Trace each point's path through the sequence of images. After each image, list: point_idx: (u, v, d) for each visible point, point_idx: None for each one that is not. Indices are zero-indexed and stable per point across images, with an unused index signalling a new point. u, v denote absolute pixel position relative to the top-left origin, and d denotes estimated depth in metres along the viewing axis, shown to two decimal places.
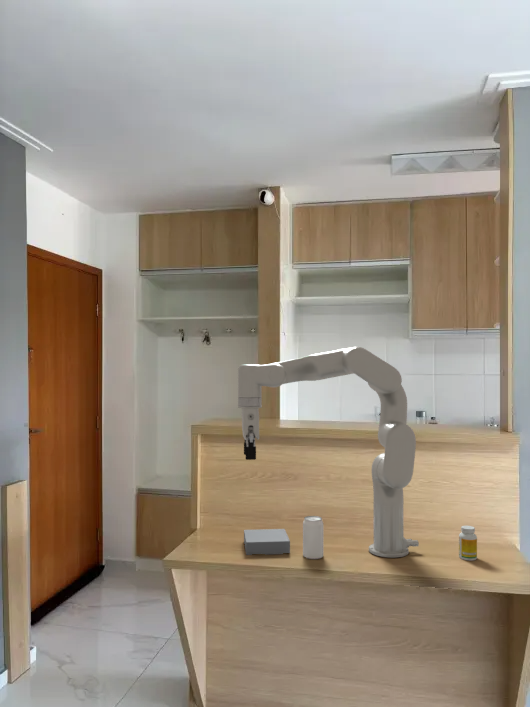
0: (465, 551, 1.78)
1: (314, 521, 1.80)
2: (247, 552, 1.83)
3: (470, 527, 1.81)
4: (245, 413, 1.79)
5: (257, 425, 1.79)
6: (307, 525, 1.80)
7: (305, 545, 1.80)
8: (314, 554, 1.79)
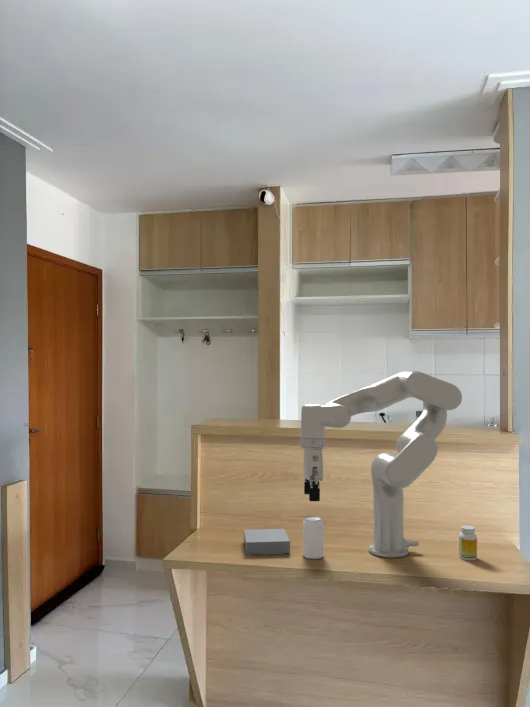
0: (465, 551, 1.78)
1: (314, 521, 1.80)
2: (247, 552, 1.83)
3: (470, 527, 1.81)
4: (309, 454, 1.78)
5: (321, 466, 1.78)
6: (307, 525, 1.80)
7: (305, 545, 1.80)
8: (314, 554, 1.79)
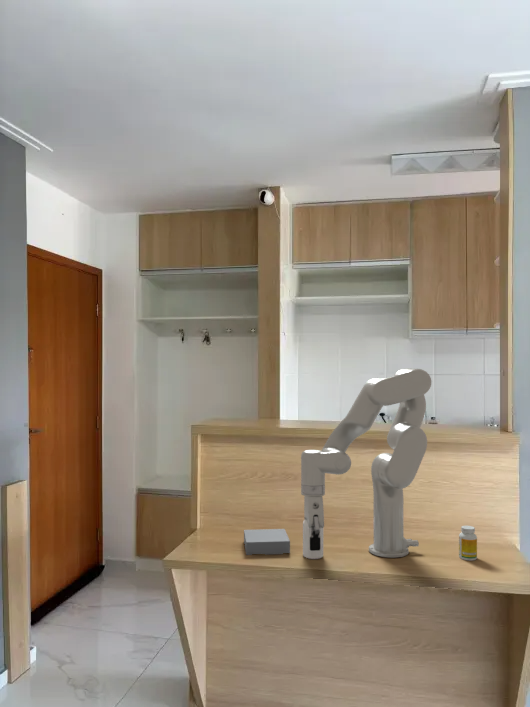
0: (465, 551, 1.78)
1: None
2: (247, 552, 1.83)
3: (470, 527, 1.81)
4: (310, 502, 1.78)
5: (322, 514, 1.78)
6: (307, 525, 1.80)
7: (305, 545, 1.80)
8: (314, 554, 1.79)
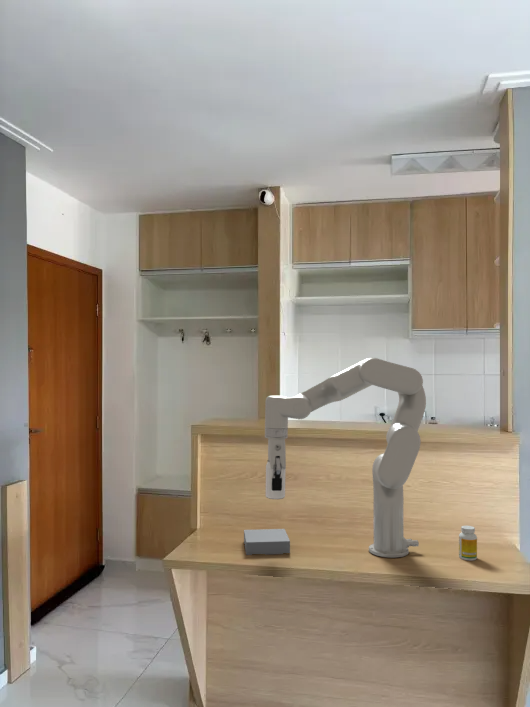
0: (465, 551, 1.78)
1: None
2: (247, 552, 1.83)
3: (470, 527, 1.81)
4: (272, 444, 1.85)
5: (284, 455, 1.85)
6: None
7: (267, 486, 1.87)
8: (276, 494, 1.86)
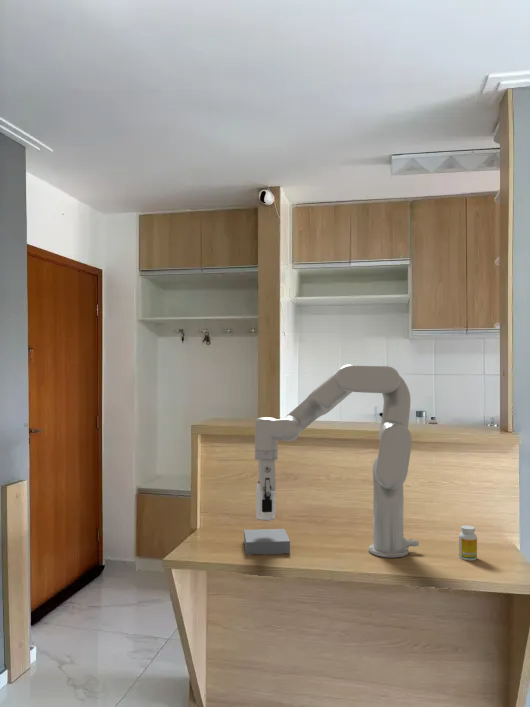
0: (465, 551, 1.78)
1: None
2: (247, 552, 1.83)
3: (470, 527, 1.81)
4: (262, 466, 1.87)
5: (273, 477, 1.87)
6: (260, 488, 1.89)
7: (258, 507, 1.89)
8: (266, 515, 1.88)
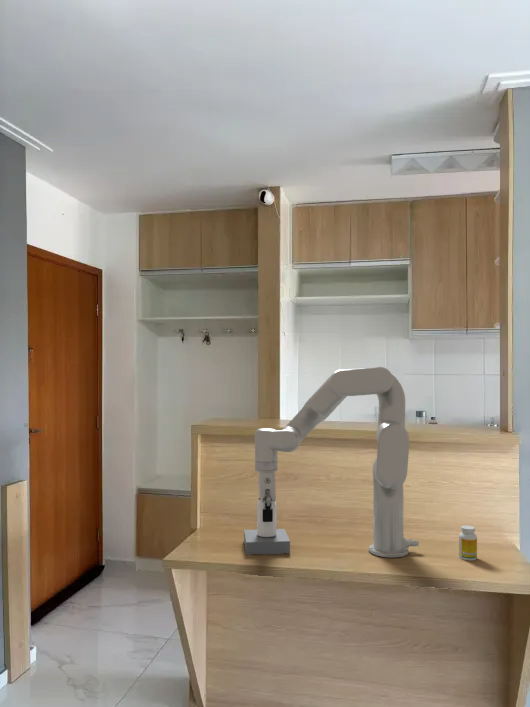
0: (465, 551, 1.78)
1: None
2: (247, 552, 1.83)
3: (470, 527, 1.81)
4: (262, 477, 1.87)
5: (274, 489, 1.87)
6: (261, 505, 1.89)
7: (259, 524, 1.89)
8: (267, 532, 1.88)
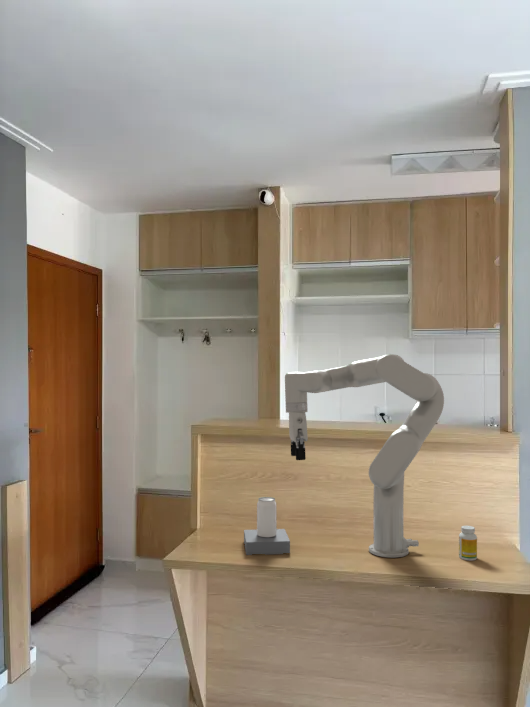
0: (465, 551, 1.78)
1: (267, 501, 1.89)
2: (247, 552, 1.83)
3: (470, 527, 1.81)
4: (294, 417, 1.94)
5: (305, 428, 1.94)
6: (261, 505, 1.89)
7: (259, 524, 1.89)
8: (267, 532, 1.88)
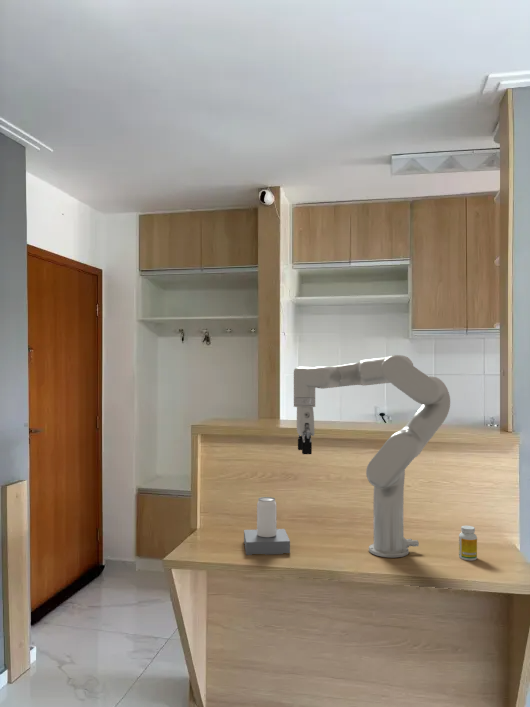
0: (465, 551, 1.78)
1: (267, 501, 1.89)
2: (247, 552, 1.83)
3: (470, 527, 1.81)
4: (301, 412, 1.96)
5: (312, 423, 1.95)
6: (261, 505, 1.89)
7: (259, 524, 1.89)
8: (267, 532, 1.88)
